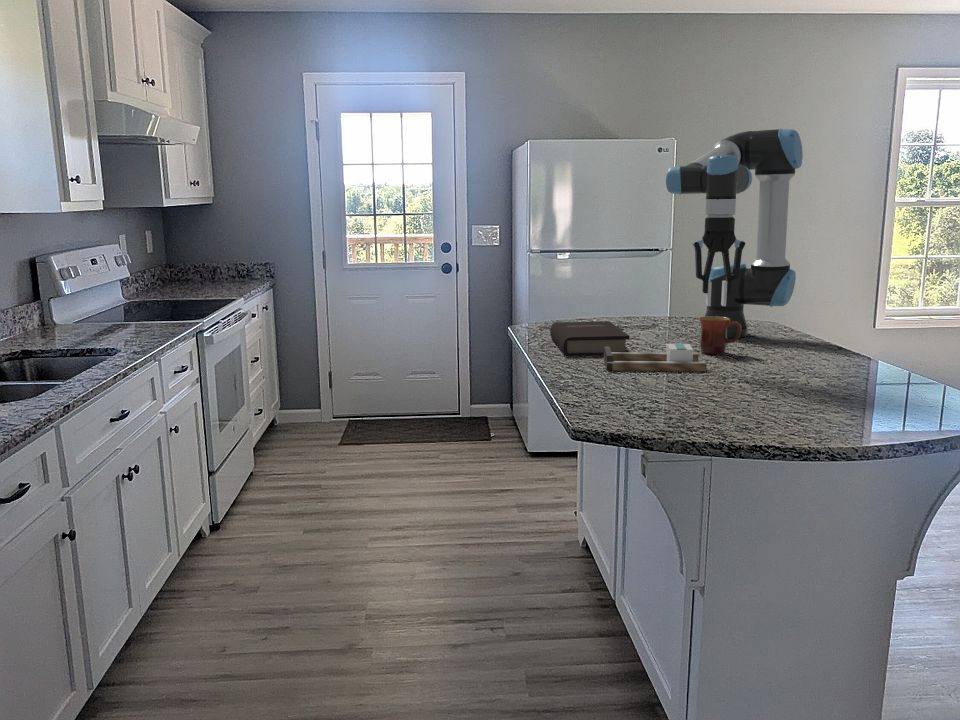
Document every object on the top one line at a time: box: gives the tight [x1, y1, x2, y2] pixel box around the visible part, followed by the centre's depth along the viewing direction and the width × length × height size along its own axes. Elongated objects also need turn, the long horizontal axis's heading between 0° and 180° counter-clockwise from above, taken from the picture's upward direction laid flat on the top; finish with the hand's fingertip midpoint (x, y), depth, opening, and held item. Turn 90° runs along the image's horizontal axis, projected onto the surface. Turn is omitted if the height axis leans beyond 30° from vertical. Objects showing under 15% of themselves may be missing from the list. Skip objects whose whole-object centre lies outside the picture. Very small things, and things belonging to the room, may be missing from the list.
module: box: [666, 342, 694, 362], centre depth 214 cm, size 6×8×6 cm
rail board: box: [603, 346, 708, 372], centre depth 215 cm, size 26×13×4 cm, turn 85°
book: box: [549, 320, 631, 357], centre depth 244 cm, size 28×20×6 cm
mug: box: [698, 315, 741, 356], centre depth 230 cm, size 12×9×10 cm
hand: (715, 305), depth 211 cm, fingers open, 3 cm apart
